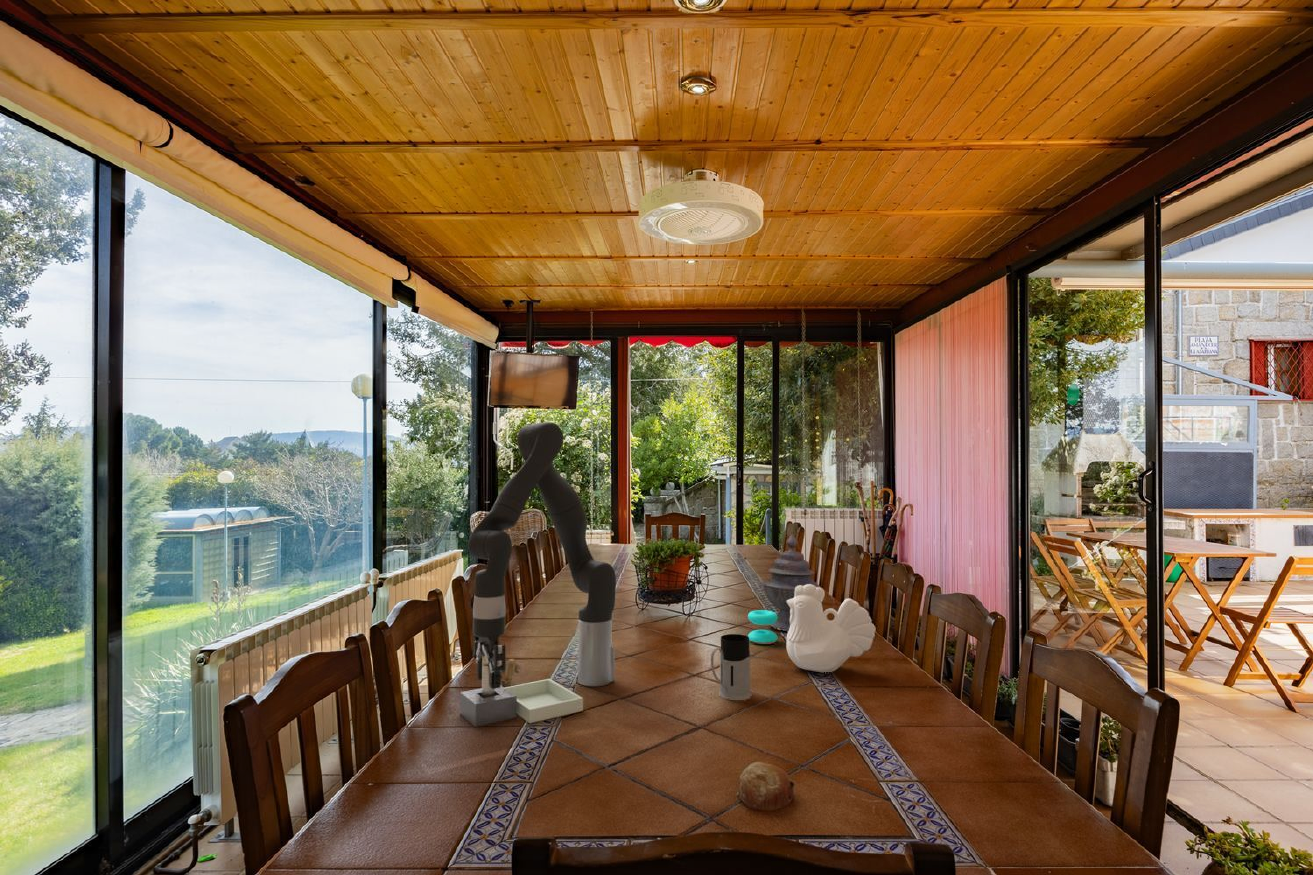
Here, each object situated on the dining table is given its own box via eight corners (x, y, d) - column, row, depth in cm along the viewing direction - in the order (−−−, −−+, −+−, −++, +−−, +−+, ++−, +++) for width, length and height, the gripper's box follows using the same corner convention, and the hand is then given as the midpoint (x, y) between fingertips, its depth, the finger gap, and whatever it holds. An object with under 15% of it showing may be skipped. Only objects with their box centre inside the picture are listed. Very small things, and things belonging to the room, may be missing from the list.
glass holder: (758, 694, 183) (758, 637, 184) (725, 709, 173) (725, 648, 173) (731, 687, 189) (731, 631, 190) (698, 700, 179) (698, 641, 179)
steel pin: (491, 712, 167) (492, 653, 168) (496, 715, 165) (497, 656, 165) (479, 714, 165) (480, 655, 166) (484, 718, 163) (485, 658, 163)
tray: (549, 693, 183) (549, 678, 183) (582, 714, 168) (583, 697, 169) (498, 704, 175) (498, 688, 175) (529, 727, 160) (529, 709, 160)
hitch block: (499, 708, 172) (499, 684, 172) (516, 721, 164) (516, 695, 164) (460, 717, 166) (460, 692, 166) (475, 731, 158) (475, 704, 158)
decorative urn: (760, 632, 246) (765, 532, 249) (761, 623, 266) (765, 530, 269) (819, 637, 243) (823, 536, 246) (815, 628, 262) (819, 534, 266)
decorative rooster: (780, 673, 201) (780, 587, 202) (793, 659, 216) (793, 578, 217) (870, 685, 191) (869, 594, 192) (877, 669, 205) (877, 585, 206)
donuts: (779, 610, 240) (775, 616, 230) (779, 639, 239) (775, 647, 230) (750, 608, 243) (745, 614, 233) (750, 637, 242) (745, 644, 233)
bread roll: (742, 805, 132) (724, 767, 132) (790, 779, 133) (772, 742, 133) (754, 832, 122) (734, 791, 122) (805, 805, 123) (786, 764, 123)
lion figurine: (523, 693, 183) (523, 659, 184) (503, 697, 180) (504, 662, 181) (501, 679, 195) (501, 646, 196) (483, 682, 192) (483, 649, 193)
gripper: (516, 617, 162) (515, 688, 162) (492, 606, 174) (491, 672, 173) (485, 622, 158) (484, 694, 157) (463, 610, 169) (462, 678, 169)
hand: (488, 683), depth 165 cm, fingers open, 8 cm apart
